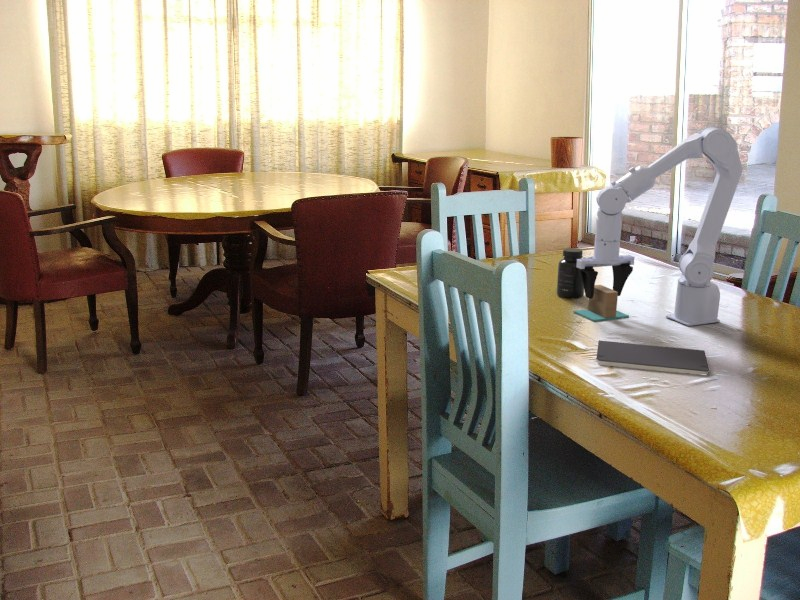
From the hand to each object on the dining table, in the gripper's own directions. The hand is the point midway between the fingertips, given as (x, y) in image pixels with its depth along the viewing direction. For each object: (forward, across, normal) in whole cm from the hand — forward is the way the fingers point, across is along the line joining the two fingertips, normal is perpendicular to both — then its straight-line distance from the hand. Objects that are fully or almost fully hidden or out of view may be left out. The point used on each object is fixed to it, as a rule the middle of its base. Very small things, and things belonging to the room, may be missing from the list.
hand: (602, 296), depth 202 cm
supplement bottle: (+5, +2, +17) cm, 18 cm away
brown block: (+4, 0, 0) cm, 4 cm away
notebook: (+5, -8, -30) cm, 32 cm away
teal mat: (+4, 0, 0) cm, 5 cm away
